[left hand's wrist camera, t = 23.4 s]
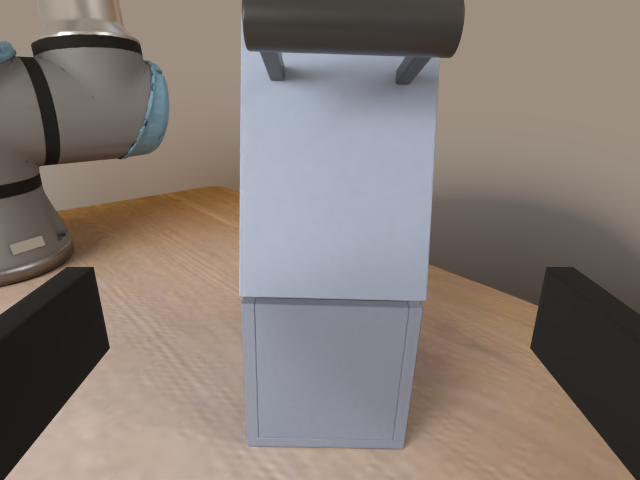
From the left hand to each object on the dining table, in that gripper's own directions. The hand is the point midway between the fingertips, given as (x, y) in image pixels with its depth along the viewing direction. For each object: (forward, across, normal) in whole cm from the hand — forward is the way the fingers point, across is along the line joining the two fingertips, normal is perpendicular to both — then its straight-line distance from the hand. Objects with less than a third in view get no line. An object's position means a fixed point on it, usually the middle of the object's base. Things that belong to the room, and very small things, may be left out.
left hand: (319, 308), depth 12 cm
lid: (+11, +1, +2) cm, 11 cm away
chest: (+16, 0, -15) cm, 21 cm away
